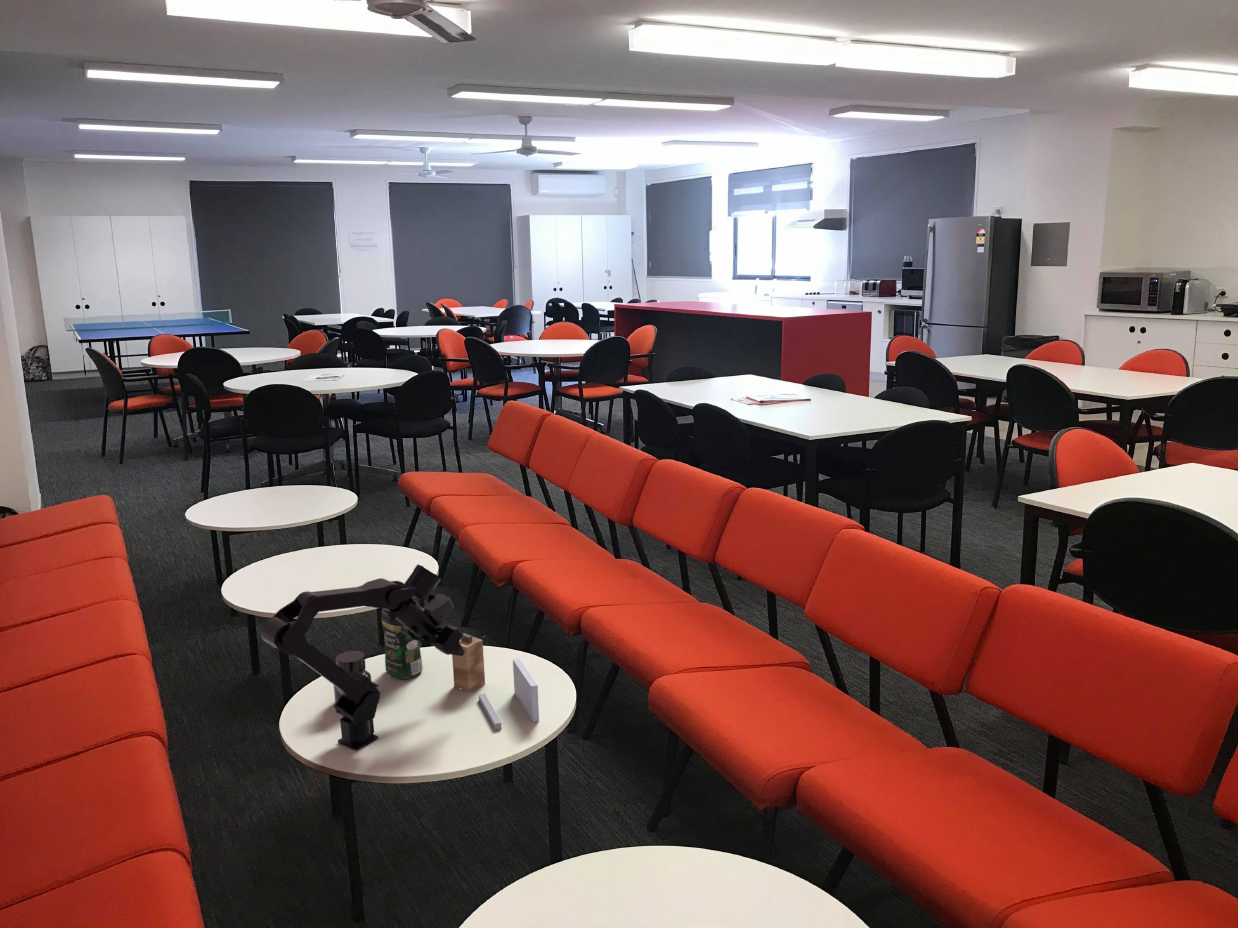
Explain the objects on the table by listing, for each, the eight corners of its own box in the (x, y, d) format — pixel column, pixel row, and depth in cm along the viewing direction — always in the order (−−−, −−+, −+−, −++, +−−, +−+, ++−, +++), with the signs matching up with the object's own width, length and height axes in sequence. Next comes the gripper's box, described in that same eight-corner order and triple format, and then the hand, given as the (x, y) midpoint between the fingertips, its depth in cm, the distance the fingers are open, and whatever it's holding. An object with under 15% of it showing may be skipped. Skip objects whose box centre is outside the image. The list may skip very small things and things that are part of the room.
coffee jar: (380, 672, 245) (374, 606, 241) (405, 662, 251) (400, 597, 246) (403, 682, 239) (397, 614, 234) (428, 672, 244) (423, 605, 240)
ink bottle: (381, 697, 231) (377, 652, 228) (356, 713, 223) (352, 667, 221) (351, 690, 235) (347, 646, 233) (326, 705, 228) (321, 659, 225)
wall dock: (495, 729, 214) (493, 693, 212) (479, 699, 228) (476, 665, 226) (539, 720, 218) (537, 685, 216) (520, 691, 232) (518, 658, 230)
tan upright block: (469, 692, 233) (465, 641, 230) (454, 686, 236) (450, 636, 233) (485, 683, 237) (482, 634, 234) (470, 678, 240) (467, 629, 237)
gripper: (456, 596, 213) (494, 631, 223) (410, 578, 226) (448, 611, 236) (427, 637, 209) (467, 670, 219) (382, 616, 222) (422, 648, 231)
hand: (452, 648), depth 226 cm, fingers open, 9 cm apart
